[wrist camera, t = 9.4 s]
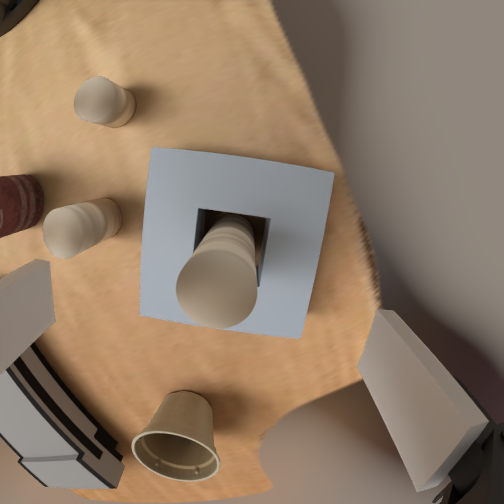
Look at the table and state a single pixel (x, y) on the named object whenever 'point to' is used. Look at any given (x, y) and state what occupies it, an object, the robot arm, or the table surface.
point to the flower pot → (179, 439)
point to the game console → (54, 428)
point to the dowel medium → (80, 226)
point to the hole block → (242, 202)
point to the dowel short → (104, 102)
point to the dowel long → (220, 275)
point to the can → (19, 203)
